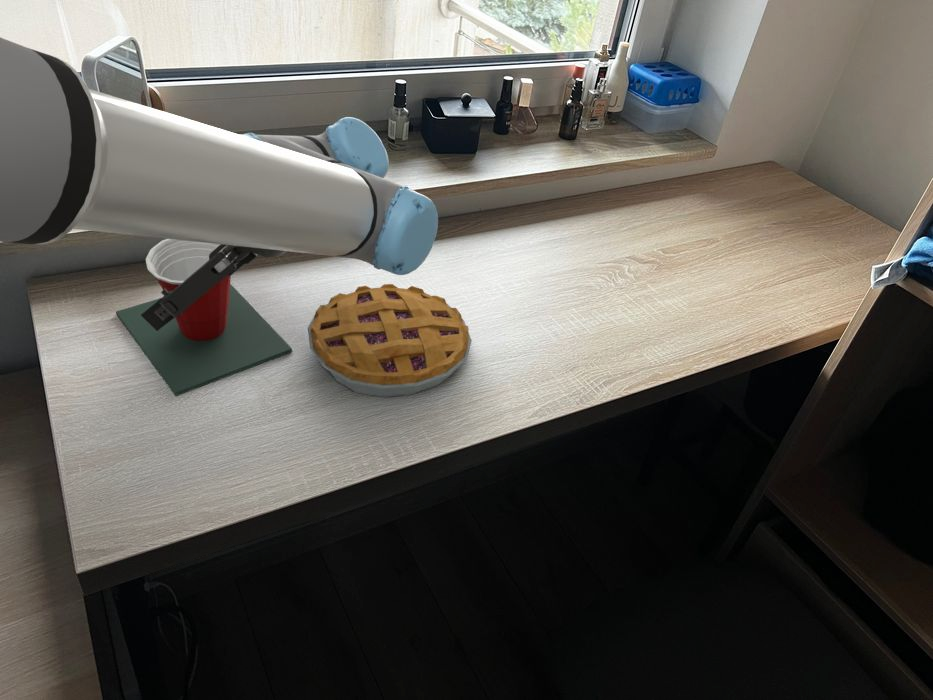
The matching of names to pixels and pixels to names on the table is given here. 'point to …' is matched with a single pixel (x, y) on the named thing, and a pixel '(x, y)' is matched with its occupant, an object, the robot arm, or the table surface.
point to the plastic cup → (174, 267)
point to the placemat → (205, 345)
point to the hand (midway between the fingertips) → (181, 293)
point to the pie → (389, 340)
